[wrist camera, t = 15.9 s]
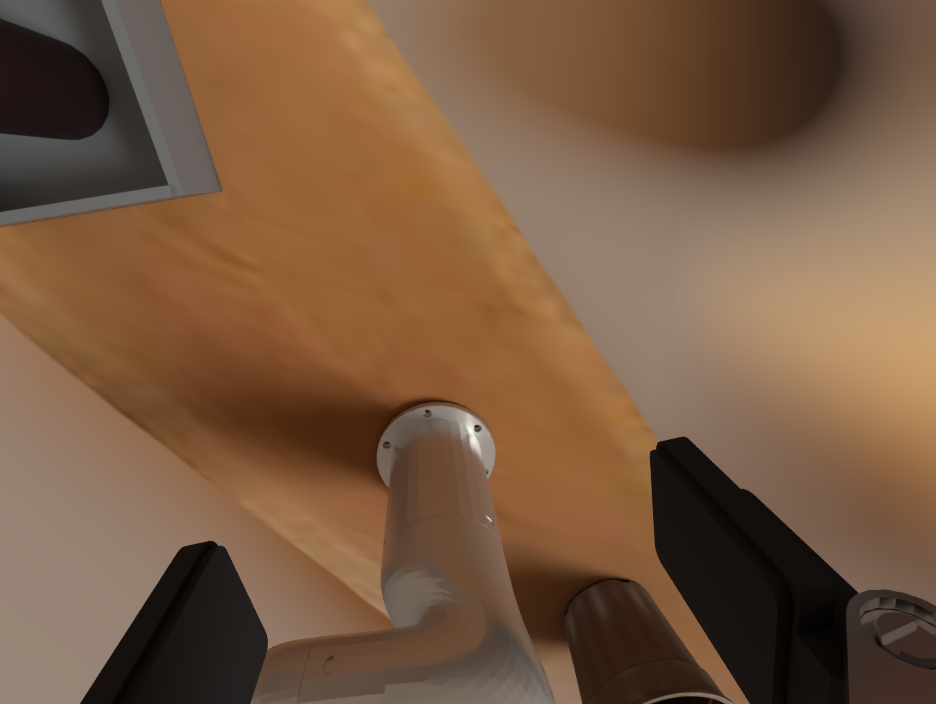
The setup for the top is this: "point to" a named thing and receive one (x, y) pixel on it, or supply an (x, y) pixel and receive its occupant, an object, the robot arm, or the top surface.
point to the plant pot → (631, 651)
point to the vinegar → (48, 87)
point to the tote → (109, 118)
